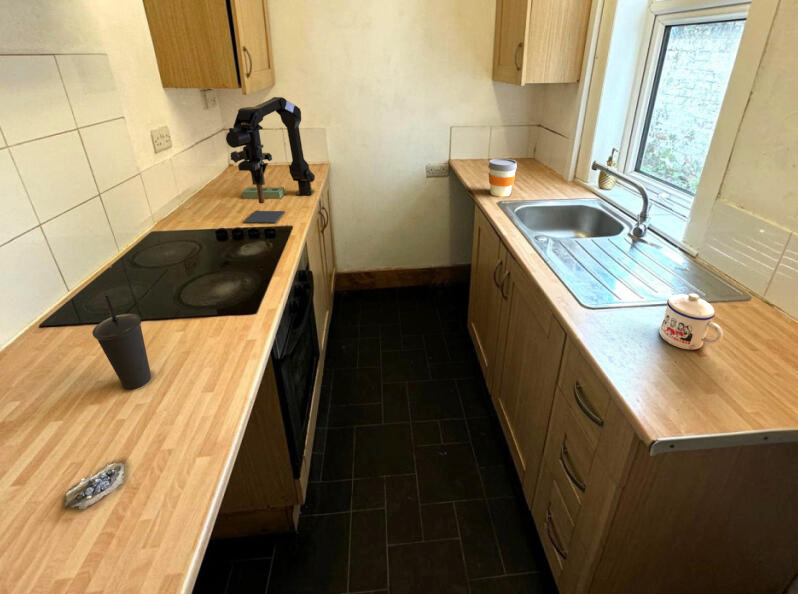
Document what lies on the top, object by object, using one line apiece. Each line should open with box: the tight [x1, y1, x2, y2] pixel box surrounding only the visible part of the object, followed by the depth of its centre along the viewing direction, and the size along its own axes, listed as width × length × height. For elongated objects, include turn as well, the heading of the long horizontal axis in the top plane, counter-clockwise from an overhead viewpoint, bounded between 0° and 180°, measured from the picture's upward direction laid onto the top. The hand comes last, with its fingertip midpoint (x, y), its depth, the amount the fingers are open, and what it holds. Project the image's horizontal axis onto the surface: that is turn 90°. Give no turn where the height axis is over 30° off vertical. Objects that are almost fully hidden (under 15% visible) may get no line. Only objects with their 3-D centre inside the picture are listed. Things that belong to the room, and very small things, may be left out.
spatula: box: [250, 172, 266, 204], centre depth 163 cm, size 2×4×12 cm, turn 88°
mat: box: [243, 210, 285, 224], centre depth 165 cm, size 12×12×1 cm
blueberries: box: [63, 462, 125, 511], centre depth 63 cm, size 7×8×2 cm
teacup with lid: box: [659, 293, 724, 350], centre depth 93 cm, size 12×9×12 cm
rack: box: [241, 186, 286, 199], centre depth 190 cm, size 7×17×3 cm, turn 89°
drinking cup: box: [91, 295, 152, 390], centre depth 79 cm, size 8×8×20 cm
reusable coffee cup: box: [488, 158, 518, 197], centre depth 191 cm, size 12×13×15 cm
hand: (259, 183), depth 163 cm, fingers closed on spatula, 1 cm apart
